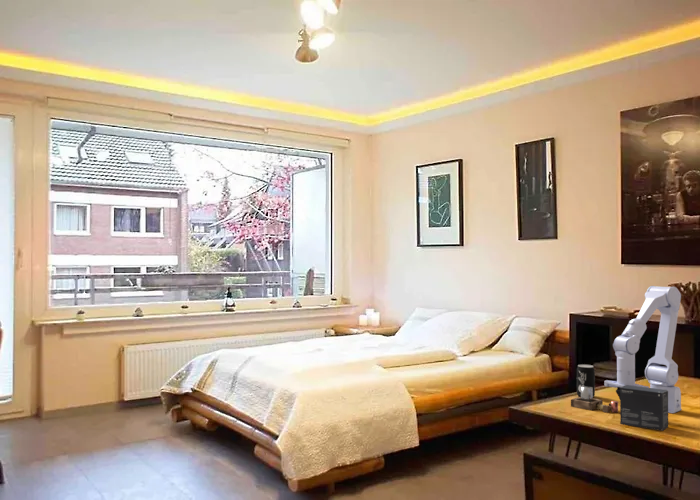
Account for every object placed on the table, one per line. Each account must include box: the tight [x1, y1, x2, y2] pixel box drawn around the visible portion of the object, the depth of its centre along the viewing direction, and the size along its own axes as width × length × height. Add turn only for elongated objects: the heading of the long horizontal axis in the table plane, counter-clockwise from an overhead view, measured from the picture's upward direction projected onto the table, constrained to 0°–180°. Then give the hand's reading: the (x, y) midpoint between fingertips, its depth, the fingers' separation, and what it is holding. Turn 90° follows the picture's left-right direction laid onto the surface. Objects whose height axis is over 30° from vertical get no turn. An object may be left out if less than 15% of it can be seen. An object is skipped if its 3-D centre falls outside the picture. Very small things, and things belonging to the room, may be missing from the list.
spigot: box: [581, 386, 594, 402], centre depth 223 cm, size 4×4×7 cm
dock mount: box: [570, 396, 611, 414], centre depth 220 cm, size 13×8×2 cm, turn 42°
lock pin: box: [595, 400, 619, 414], centre depth 217 cm, size 9×2×4 cm, turn 42°
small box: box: [619, 385, 669, 432], centre depth 197 cm, size 13×7×12 cm, turn 48°
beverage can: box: [576, 364, 596, 398], centre depth 239 cm, size 7×7×12 cm
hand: (626, 410), depth 212 cm, fingers closed
